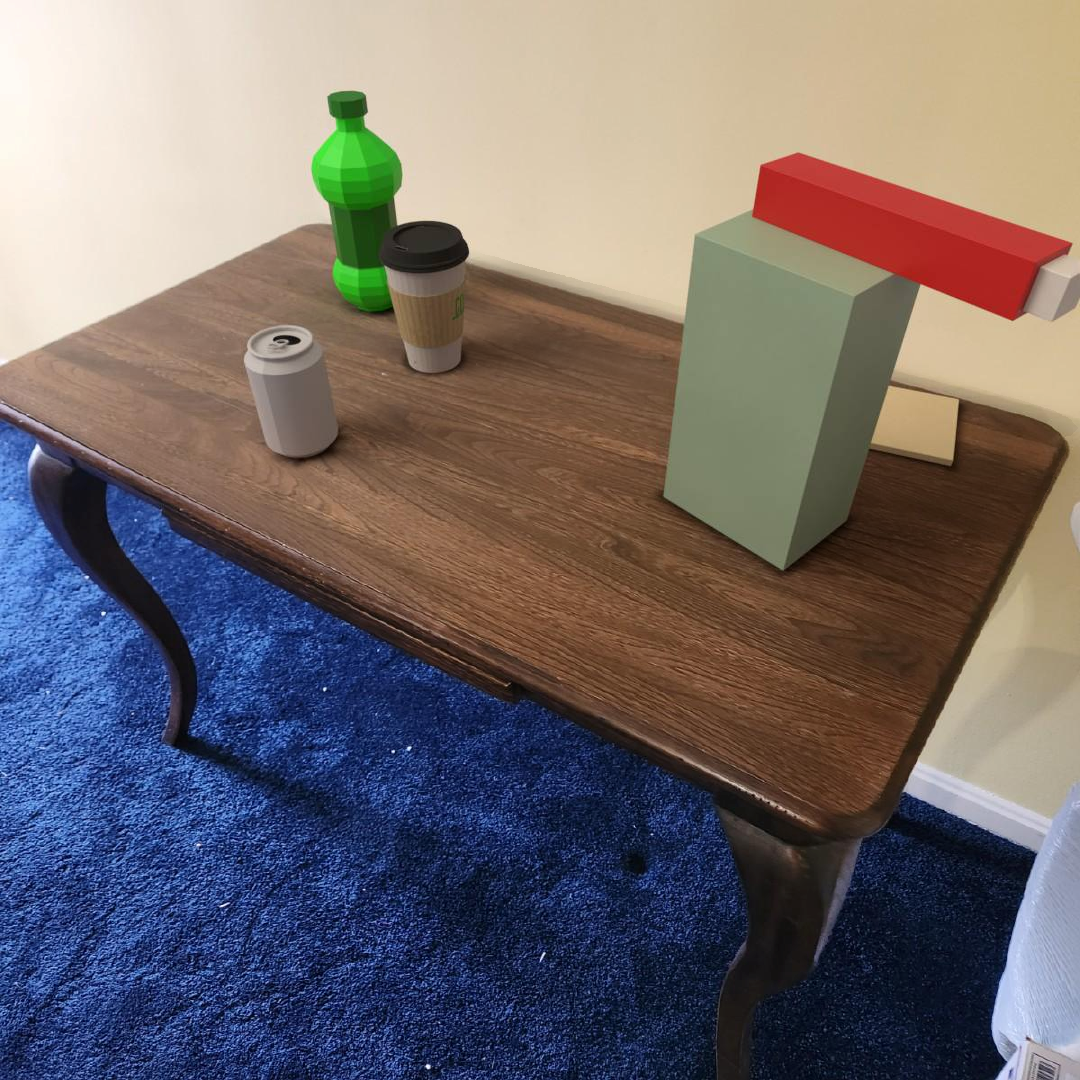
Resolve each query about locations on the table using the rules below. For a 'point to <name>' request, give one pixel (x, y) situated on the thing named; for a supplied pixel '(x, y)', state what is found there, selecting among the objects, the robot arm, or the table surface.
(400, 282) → the coffee cup
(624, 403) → the table surface
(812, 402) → the stand
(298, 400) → the can
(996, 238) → the long red beam
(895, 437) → the mat
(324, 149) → the plastic bottle
